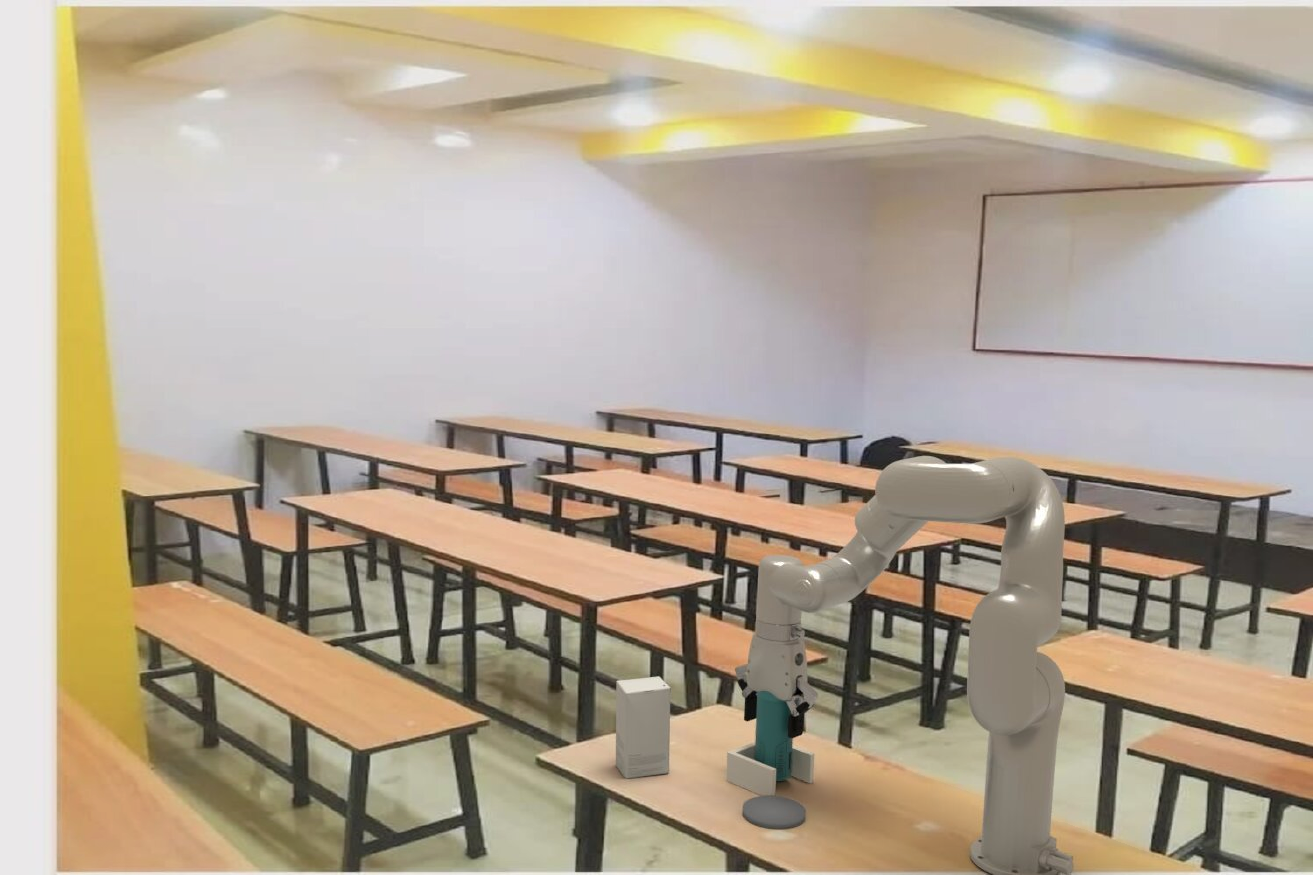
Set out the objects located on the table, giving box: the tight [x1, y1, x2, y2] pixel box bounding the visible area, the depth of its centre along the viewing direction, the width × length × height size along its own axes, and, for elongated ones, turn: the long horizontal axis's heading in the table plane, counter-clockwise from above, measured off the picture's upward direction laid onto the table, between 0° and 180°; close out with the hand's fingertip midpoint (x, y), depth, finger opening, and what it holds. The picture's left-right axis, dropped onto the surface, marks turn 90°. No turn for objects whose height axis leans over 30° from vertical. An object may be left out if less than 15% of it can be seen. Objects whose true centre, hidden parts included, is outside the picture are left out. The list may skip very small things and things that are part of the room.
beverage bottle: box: [754, 691, 794, 782], centre depth 197 cm, size 6×7×20 cm
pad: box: [742, 795, 807, 830], centre depth 185 cm, size 10×10×1 cm
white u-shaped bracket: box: [725, 741, 815, 796], centre depth 198 cm, size 10×11×5 cm
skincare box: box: [615, 675, 672, 780], centre depth 201 cm, size 8×7×16 cm
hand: (772, 727), depth 197 cm, fingers open, 9 cm apart
